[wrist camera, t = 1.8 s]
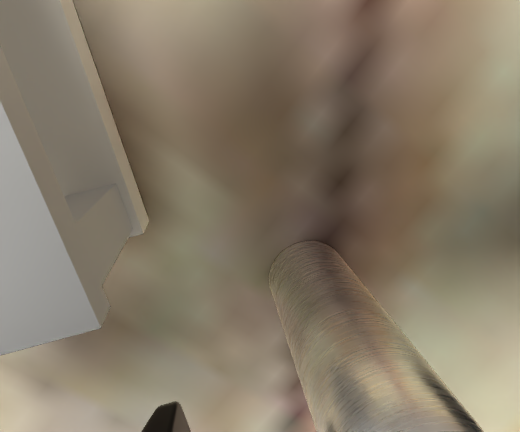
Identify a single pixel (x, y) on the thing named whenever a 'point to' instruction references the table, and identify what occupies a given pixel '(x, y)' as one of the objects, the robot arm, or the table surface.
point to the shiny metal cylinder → (355, 351)
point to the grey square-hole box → (57, 179)
